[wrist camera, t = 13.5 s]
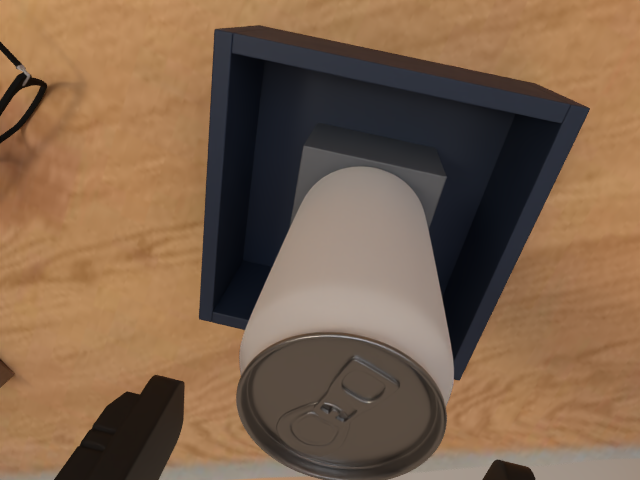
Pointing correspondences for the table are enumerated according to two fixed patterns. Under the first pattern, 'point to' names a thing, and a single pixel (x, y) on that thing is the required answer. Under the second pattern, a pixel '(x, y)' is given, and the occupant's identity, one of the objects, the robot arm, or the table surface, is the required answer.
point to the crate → (382, 120)
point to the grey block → (370, 162)
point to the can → (350, 336)
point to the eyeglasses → (18, 84)
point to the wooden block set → (4, 374)
